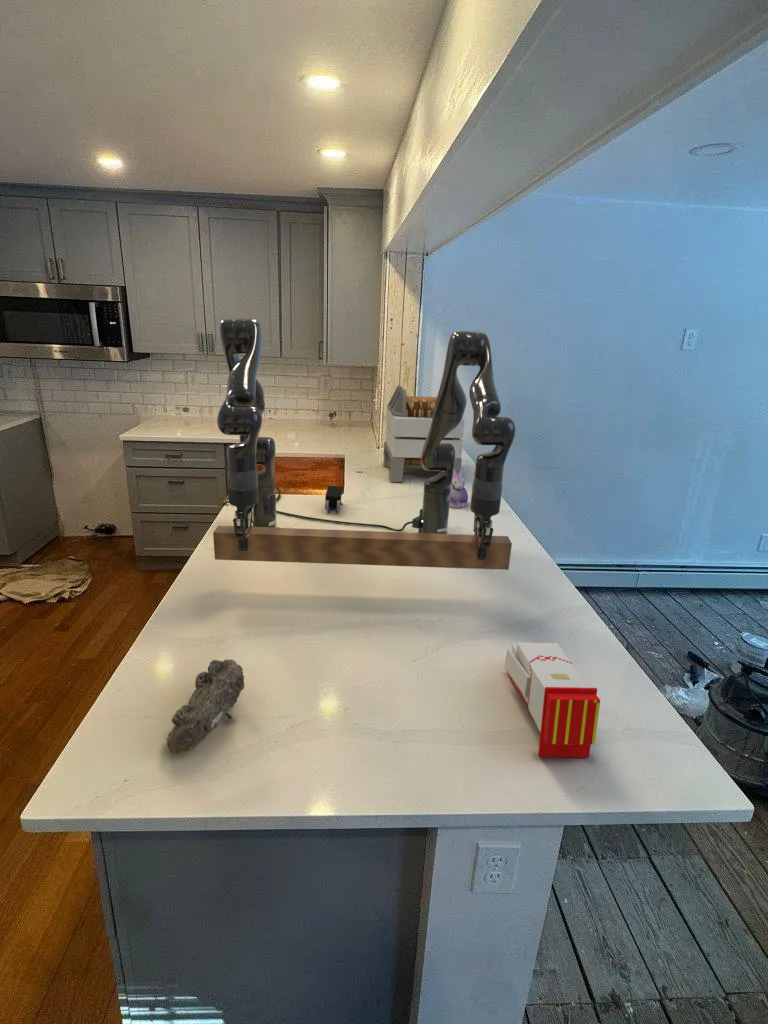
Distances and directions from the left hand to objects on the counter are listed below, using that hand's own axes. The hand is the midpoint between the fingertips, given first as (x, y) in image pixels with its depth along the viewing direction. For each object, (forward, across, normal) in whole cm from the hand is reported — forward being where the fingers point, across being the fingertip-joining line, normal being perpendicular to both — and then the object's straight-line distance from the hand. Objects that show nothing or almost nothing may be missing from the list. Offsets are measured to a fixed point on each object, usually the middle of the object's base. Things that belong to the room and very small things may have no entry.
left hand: (245, 546), depth 150 cm
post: (+3, 0, +31) cm, 31 cm away
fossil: (+14, +50, +4) cm, 51 cm away
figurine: (+15, -81, +68) cm, 107 cm away
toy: (+14, +44, +69) cm, 83 cm away
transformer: (+15, -126, +56) cm, 139 cm away
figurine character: (+15, -70, +18) cm, 74 cm away
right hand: (0, 0, +62) cm, 62 cm away
